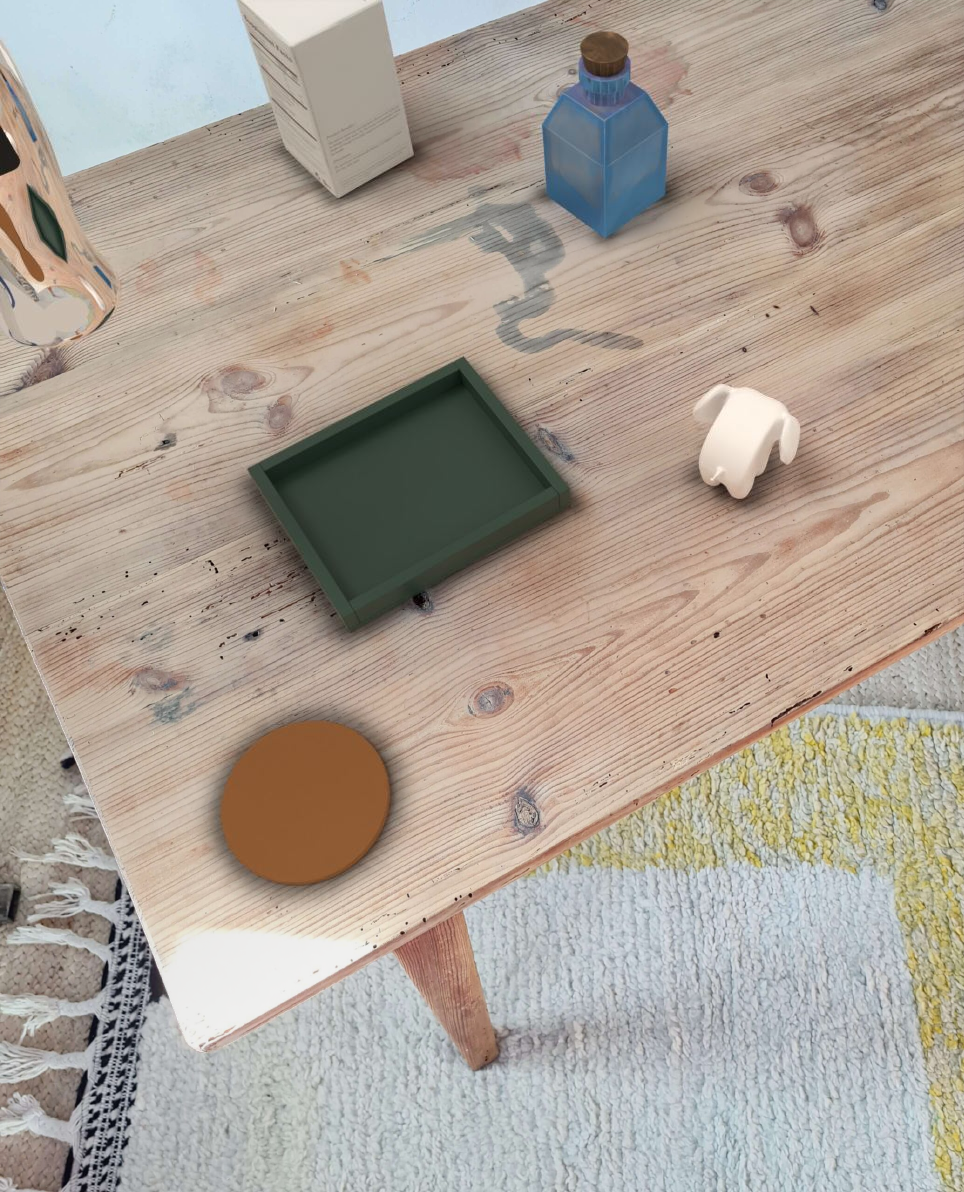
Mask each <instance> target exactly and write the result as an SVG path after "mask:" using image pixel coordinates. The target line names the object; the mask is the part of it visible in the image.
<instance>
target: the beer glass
mask: <svg viewBox="0 0 964 1192" xmlns="http://www.w3.org/2000/svg"><path fill="white" fill-rule="evenodd" d="M24 77H25V76H23V74H22V72H21V70H20V69H19V67H18V65H17V63H16V62H15V60H14V58H13V55H11V52H10V51H9V49H8V47H7V46H6V45H5V43H4V41H3V39H2V38H1V37H0V125H1V127H2V129H3V131H4V132H5V134H6V136H7V137H8V139H9V141H10V143H11V144H12V146H13V148H14V150H15V151H16V153H17V155H18V156H19V159H20V165H19V167H18V168H17V169H15V170H13V171H11V172H9V173H6V174H4V175H2V176H0V332H1V333H2V335H4V336H5V337H6V338H7V339H9V340H10V341H12V342H14V343H16V344H19V345H21V346H26V347H29V348H36V349H37V348H40V349H48V348H49V349H50V348H59V347H63V346H67V345H71V344H74V343H76V342H79V341H81V340H83V339H85V338H87V337H89V336H91V335H92V334H94V333H96V332H97V331H98V330H99V329H101V328H102V327H103V326H104V325H105V324H106V323H107V322H108V321H109V320H110V319H111V317H112V316H113V315H114V313H115V312H116V311H117V308H118V306H119V304H120V301H121V298H122V283H121V280H120V277H119V275H118V272H117V271H116V270H115V269H114V267H113V266H112V265H111V264H110V263H109V261H108V260H107V258H105V257H104V256H103V254H102V253H101V252H100V251H99V249H97V247H96V246H95V245H94V244H93V243H92V242H91V240H90V239H89V238H88V235H87V234H86V233H85V231H84V229H83V228H82V225H80V222H79V220H78V217H77V215H76V213H75V212H74V211H75V210H74V208H73V205H72V203H71V199H70V197H69V194H68V191H67V188H66V185H65V184H66V183H65V181H64V178H63V174H62V171H61V168H60V165H59V162H58V158H57V155H56V152H55V149H54V147H53V144H52V140H51V137H50V135H49V132H48V129H47V126H46V123H45V121H44V119H43V116H42V114H41V111H40V109H39V107H38V104H37V102H36V100H35V98H34V96H33V94H32V92H31V90H30V88H29V86H28V83H27V82H26V80H25V78H24Z"/></svg>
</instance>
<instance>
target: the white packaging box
mask: <svg viewBox="0 0 964 1192" xmlns="http://www.w3.org/2000/svg"><path fill="white" fill-rule="evenodd" d="M236 3H237V6H238V7H237V8H238V9H239V13H240V15H241V18H242V21H243V24H244V28H245V30H246V33H247V36H248V39H249V42H250V46H251V48H252V51H253V54H254V57H255V60H256V63H257V66H258V69H259V73H260V75H261V78H262V81H263V85H264V87H265V91H266V94H267V98H268V100H269V103H270V106H271V108H272V111H273V115H274V118H275V121H276V124H277V127H278V131H279V134H280V137H281V139H282V142H283V145H284V148H285V150H286V151H287V152H288V153H289V154H290V155H292V157H293V158H294V159H295V160H296V161H297V162H298V163H299V164H301V166H303V167H304V168H305V169H306V170H307V171H308V173H310V174H311V175H312V176H313V177H314V178H315V179H316V180H317V181H318V182H319V183H320V184H321V185H322V186H324V187H325V188H326V189H327V190H328V191H329V192H330V193H331V194H332V195H333V196H334V197H335V198H337V199H340V198H341V197H343V196H345V195H346V194H349V193H351V192H352V191H353V190H355V189H357V188H359V187H361V186H362V185H364V184H366V183H368V182H369V181H371V180H373V179H374V178H376V177H379V176H380V175H382V174H383V173H386V172H387V171H389V170H390V169H392V168H394V167H395V166H398V165H399V164H401V163H403V162H405V161H406V160H408V159H410V158H412V157H413V156H414V155H415V154H414V149H413V144H412V138H411V134H410V129H409V124H408V120H407V115H406V114H407V113H406V111H405V104H404V101H403V99H404V98H403V95H402V91H401V86H400V85H401V84H400V80H399V76H398V70H397V67H396V61H395V56H394V52H393V47H392V42H391V37H390V31H389V27H388V23H387V22H388V21H387V18H386V17H387V16H386V13H385V7H384V3H383V0H236Z"/></svg>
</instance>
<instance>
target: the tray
mask: <svg viewBox="0 0 964 1192" xmlns="http://www.w3.org/2000/svg"><path fill="white" fill-rule="evenodd" d="M246 471H247V472H248V474H249V476H250V478H251V479H252V481H253V484H254V485H255V487H256V489H257V490H258V492H259V494H260V495H261V496H262V499H263V500H264V501H265V503H266V504H267V506H268V507H269V509H270V510H271V512H272V514H273V515H274V517H275V519H276V520H277V522H278V523H279V525H280V526H281V528H282V530H283V532H284V533H285V534H286V536H287V538H288V539H289V541H290V542H291V544H292V545H293V547H294V548H295V550H296V551H297V553H298V555H299V556H300V558H301V560H302V561H303V562H304V564H305V566H306V568H307V569H308V571H309V572H310V573H311V575H312V577H313V578H314V580H315V581H316V583H317V584H318V586H319V588H320V589H321V591H322V593H323V595H324V596H325V597H326V599H327V600H328V602H329V603H330V605H331V607H332V608H333V610H334V612H335V613H336V614H337V616H338V618H339V619H340V621H341V622H342V624H343V625H344V627H345V629H346V630H347V632H348V633H349V634H351V633H353V632H355V631H356V630H359V629H360V628H362V627H363V626H365V625H367V624H368V623H370V622H372V621H374V620H375V619H377V618H379V617H381V616H383V615H385V614H386V613H388V612H389V611H391V610H393V609H395V608H396V607H398V606H400V605H401V604H403V603H405V602H407V601H408V600H410V599H412V598H414V597H415V596H417V595H419V594H421V593H422V592H424V591H426V590H428V589H429V588H431V587H433V586H435V585H436V584H438V583H439V582H442V581H443V580H445V579H446V578H448V577H450V576H452V575H453V574H455V573H457V572H459V571H461V570H462V569H464V568H466V567H467V566H469V565H471V564H473V563H474V562H476V561H478V560H480V559H481V558H483V557H485V556H486V555H488V554H490V553H492V552H494V551H495V550H497V549H499V548H500V547H502V546H503V545H506V544H507V543H509V542H511V541H512V540H514V539H516V538H517V537H519V536H522V535H523V534H525V533H526V532H528V531H530V530H532V529H533V528H535V527H537V526H539V525H540V524H542V523H544V522H545V521H548V520H549V519H551V518H552V517H554V516H556V515H557V514H559V513H561V512H563V511H565V510H566V509H568V508H570V507H571V505H572V504H571V503H572V501H571V488H570V487H569V485H568V484H567V483H566V481H565V480H564V479H563V478H562V476H561V475H560V474H559V473H558V472H557V471H556V469H555V468H554V467H553V465H552V464H551V463H550V461H548V459H547V457H545V455H544V454H543V453H542V452H541V450H539V448H538V447H537V446H536V444H535V443H534V442H533V440H532V439H531V438H530V436H528V434H527V433H526V432H525V430H524V429H523V428H522V427H521V425H520V424H519V423H518V421H516V419H515V418H514V417H513V415H512V414H511V413H510V411H508V409H507V408H506V407H505V406H504V404H503V403H502V401H500V399H499V398H498V397H497V396H496V394H495V393H494V392H493V391H492V389H491V388H490V387H489V385H488V384H487V382H485V381H484V380H483V378H482V377H481V376H480V374H479V373H478V372H477V370H475V368H474V367H473V366H472V365H471V363H470V362H469V361H468V359H467V358H466V357H465V356H464V355H463V356H461V357H459V358H457V359H455V360H454V361H450V363H447V364H445V365H444V366H441V367H440V368H437V369H436V370H434V371H432V372H430V373H428V374H426V375H424V376H423V377H421V378H419V379H417V380H415V381H413V382H411V383H409V384H407V385H405V386H403V387H401V388H399V389H397V390H395V391H394V392H392V393H390V394H387V395H386V396H384V397H382V398H380V399H378V400H376V401H374V402H372V403H370V404H368V405H366V406H365V407H363V408H360V409H359V410H356V411H354V412H353V413H351V414H349V415H347V416H345V417H344V418H341V419H340V420H338V421H336V422H334V423H332V424H329V425H327V426H326V427H324V428H322V429H320V430H318V431H316V432H314V433H313V434H311V435H309V436H306V437H305V438H303V439H301V440H299V441H297V442H295V443H294V444H291V445H289V446H288V447H285V448H284V449H282V450H280V451H278V452H276V453H274V454H272V455H270V456H269V457H266V458H264V459H263V460H261V461H258V462H257V463H255V464H253V465H251V466H249V467H247V468H246Z"/></svg>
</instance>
